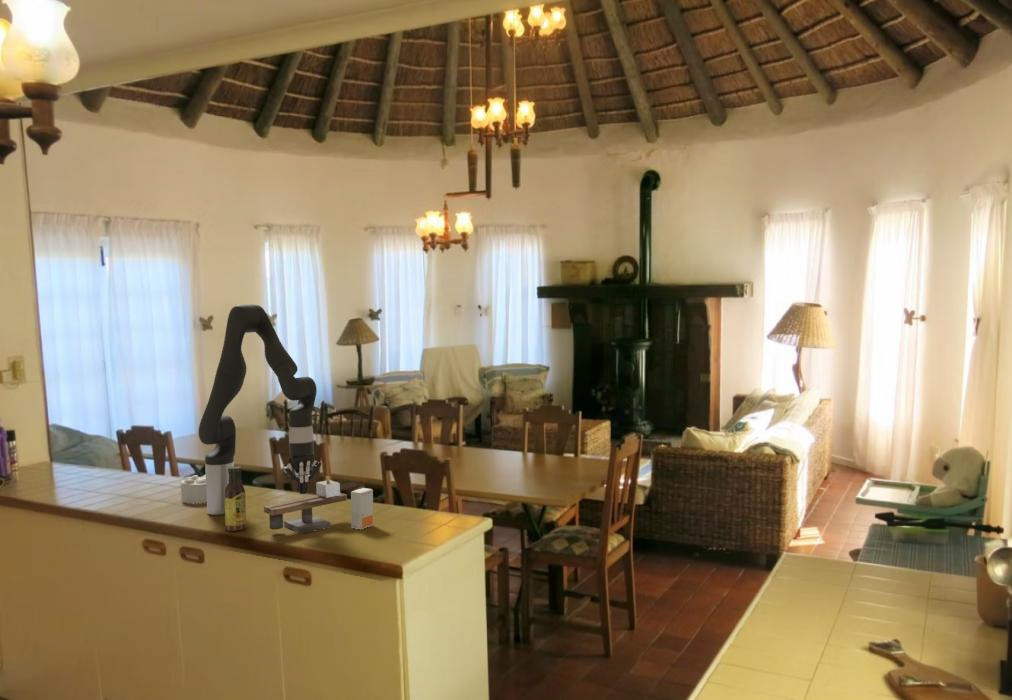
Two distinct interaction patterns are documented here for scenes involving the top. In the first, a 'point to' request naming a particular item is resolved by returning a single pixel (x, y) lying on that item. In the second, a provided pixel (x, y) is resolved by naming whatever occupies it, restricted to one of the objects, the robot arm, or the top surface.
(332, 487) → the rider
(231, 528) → the sauce bottle
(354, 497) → the skincare box
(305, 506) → the balance beam
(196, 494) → the lumpy-topped squat cylinder
